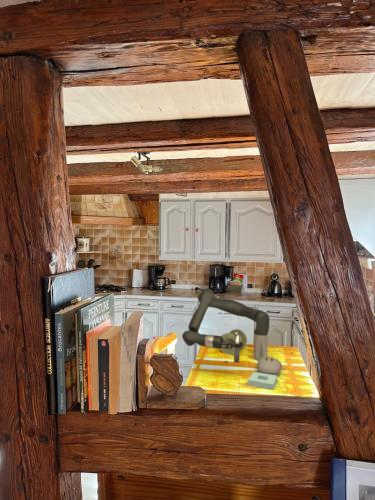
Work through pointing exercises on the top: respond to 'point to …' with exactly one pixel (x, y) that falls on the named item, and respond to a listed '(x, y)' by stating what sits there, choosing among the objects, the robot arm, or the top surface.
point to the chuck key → (236, 350)
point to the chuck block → (262, 380)
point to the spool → (231, 336)
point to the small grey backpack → (269, 366)
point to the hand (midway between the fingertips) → (241, 345)
